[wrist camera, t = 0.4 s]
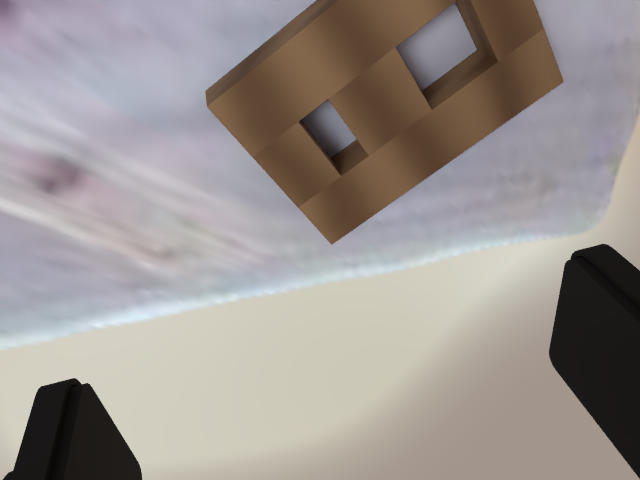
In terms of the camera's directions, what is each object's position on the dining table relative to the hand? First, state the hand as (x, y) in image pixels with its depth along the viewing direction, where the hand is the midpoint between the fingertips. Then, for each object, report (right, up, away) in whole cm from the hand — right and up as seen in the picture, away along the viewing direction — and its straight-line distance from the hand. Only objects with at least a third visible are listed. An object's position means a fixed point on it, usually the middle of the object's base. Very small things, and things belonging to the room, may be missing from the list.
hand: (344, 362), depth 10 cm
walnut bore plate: (+4, +14, +26) cm, 30 cm away
